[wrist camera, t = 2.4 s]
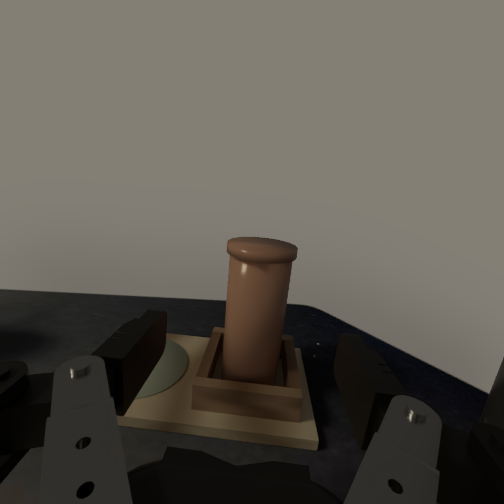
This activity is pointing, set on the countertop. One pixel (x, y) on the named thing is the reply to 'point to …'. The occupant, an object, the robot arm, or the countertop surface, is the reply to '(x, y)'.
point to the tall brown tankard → (255, 308)
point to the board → (224, 397)
